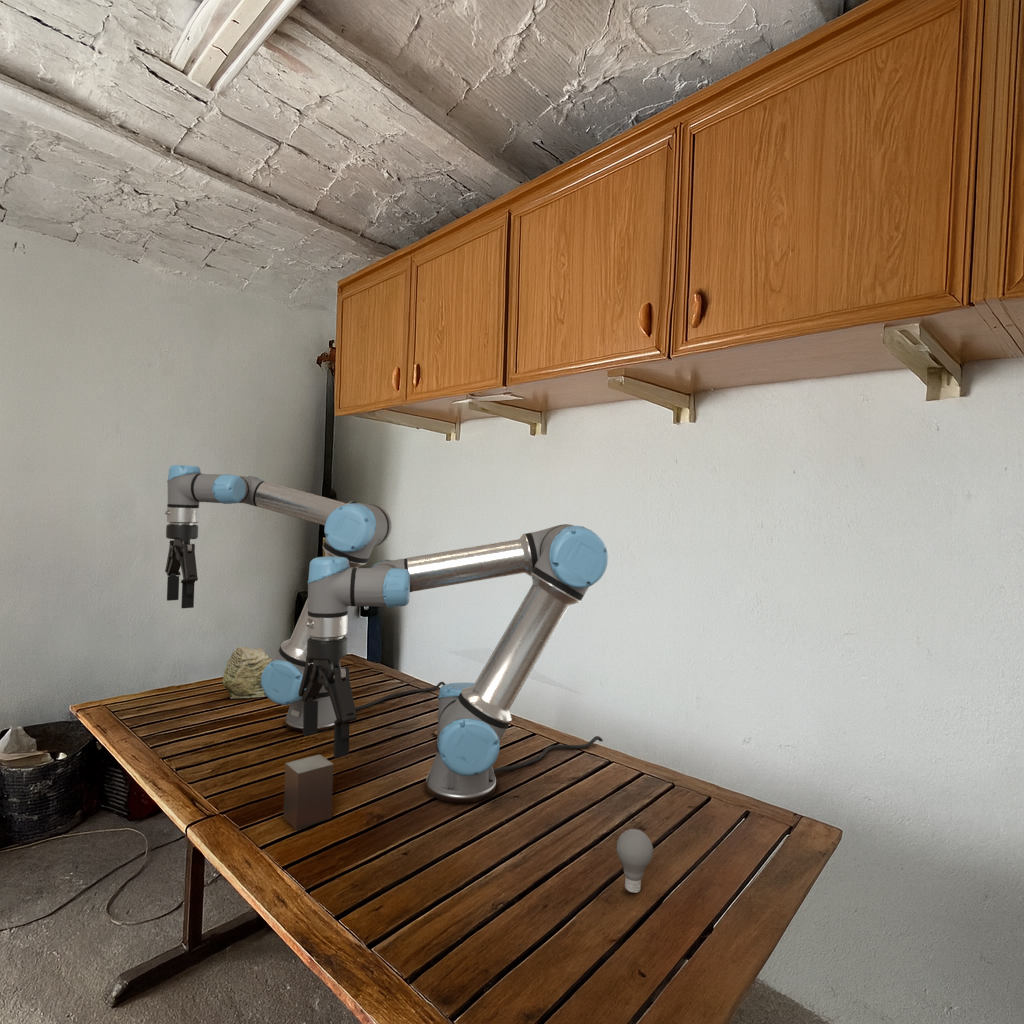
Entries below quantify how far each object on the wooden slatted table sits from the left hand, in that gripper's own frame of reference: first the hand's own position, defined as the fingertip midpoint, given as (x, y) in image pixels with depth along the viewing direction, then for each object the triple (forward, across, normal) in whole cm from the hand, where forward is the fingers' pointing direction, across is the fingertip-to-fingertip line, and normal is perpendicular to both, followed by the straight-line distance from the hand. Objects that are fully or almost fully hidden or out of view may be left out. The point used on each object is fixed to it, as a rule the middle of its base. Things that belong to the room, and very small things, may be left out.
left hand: (179, 604), depth 167 cm
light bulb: (+33, +120, +38) cm, 130 cm away
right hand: (+18, +68, +9) cm, 71 cm away
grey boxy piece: (+33, +65, +7) cm, 73 cm away
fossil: (+33, -16, +27) cm, 46 cm away
